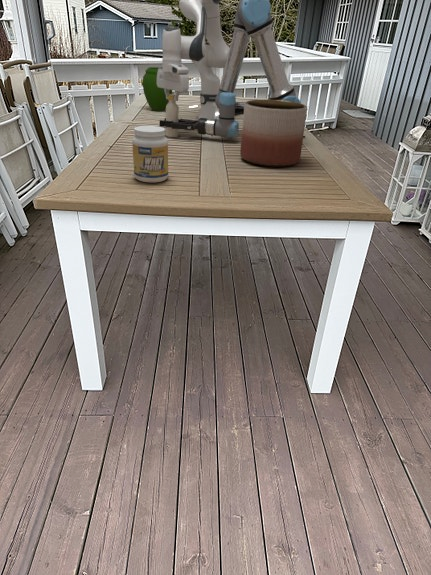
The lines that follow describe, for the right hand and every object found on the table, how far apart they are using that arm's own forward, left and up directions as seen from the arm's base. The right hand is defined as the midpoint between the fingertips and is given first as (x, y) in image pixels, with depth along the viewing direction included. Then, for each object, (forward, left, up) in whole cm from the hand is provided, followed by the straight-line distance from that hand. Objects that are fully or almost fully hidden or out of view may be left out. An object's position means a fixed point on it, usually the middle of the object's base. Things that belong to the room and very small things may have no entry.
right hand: (162, 122), depth 204 cm
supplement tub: (+9, +72, -6) cm, 72 cm away
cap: (-5, +2, +12) cm, 14 cm away
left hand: (-5, +2, +10) cm, 12 cm away
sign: (-63, -80, -6) cm, 102 cm away
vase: (-2, -73, -6) cm, 73 cm away
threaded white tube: (-5, +2, -6) cm, 8 cm away
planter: (-42, +48, -6) cm, 64 cm away
